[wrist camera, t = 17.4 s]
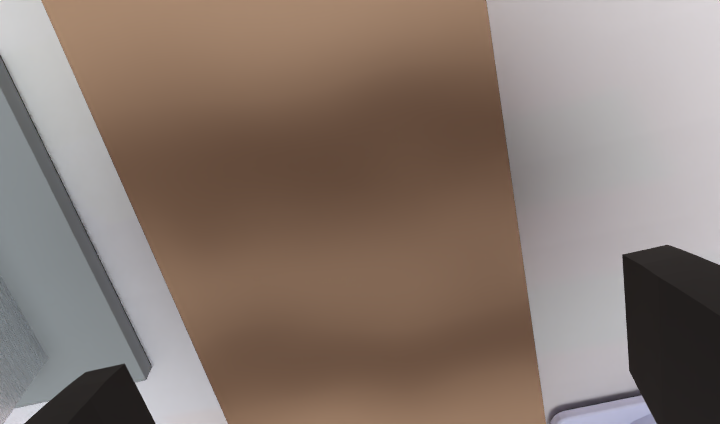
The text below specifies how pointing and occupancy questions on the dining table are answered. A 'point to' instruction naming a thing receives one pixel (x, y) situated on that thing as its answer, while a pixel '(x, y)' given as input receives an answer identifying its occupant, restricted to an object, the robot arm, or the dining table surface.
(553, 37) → the dining table surface
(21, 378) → the light grey block
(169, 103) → the brown wooden board
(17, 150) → the mat
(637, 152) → the dining table surface
